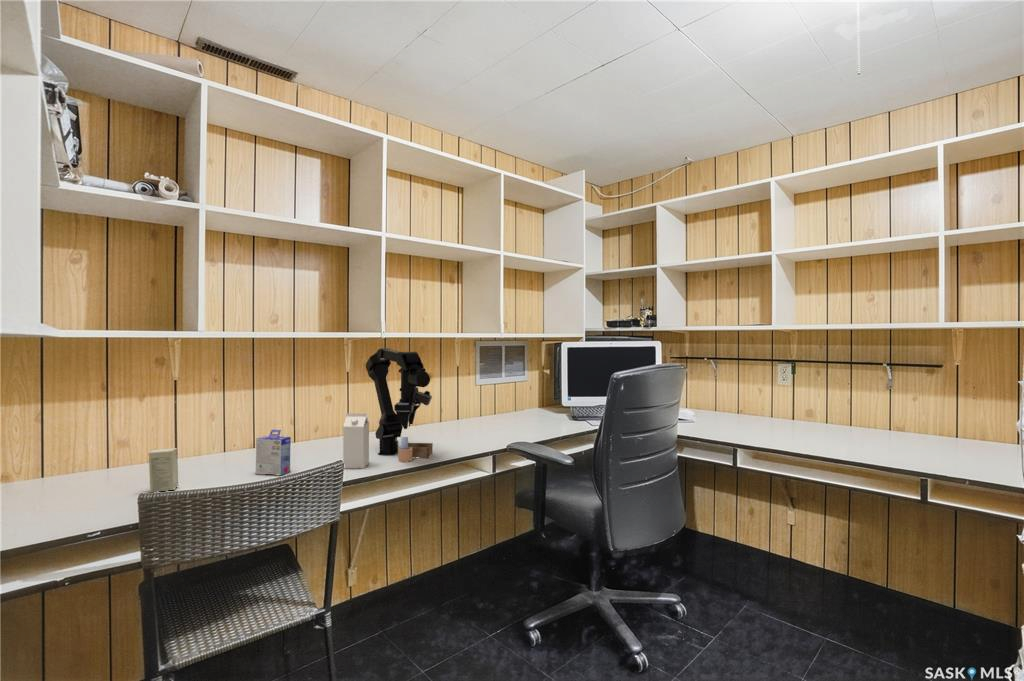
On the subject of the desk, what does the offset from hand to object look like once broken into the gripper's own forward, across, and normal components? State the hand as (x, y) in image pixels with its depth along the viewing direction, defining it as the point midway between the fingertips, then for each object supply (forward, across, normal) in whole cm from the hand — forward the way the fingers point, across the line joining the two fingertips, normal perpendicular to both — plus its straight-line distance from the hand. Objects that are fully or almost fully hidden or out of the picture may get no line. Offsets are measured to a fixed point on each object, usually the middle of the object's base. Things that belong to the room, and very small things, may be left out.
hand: (408, 426), depth 187 cm
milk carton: (+13, -9, +17) cm, 23 cm away
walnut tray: (+13, +8, -2) cm, 15 cm away
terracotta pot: (+13, 0, +1) cm, 13 cm away
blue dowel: (+13, 0, +1) cm, 13 cm away
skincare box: (+13, -38, +65) cm, 77 cm away
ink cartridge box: (+13, -19, +42) cm, 48 cm away
